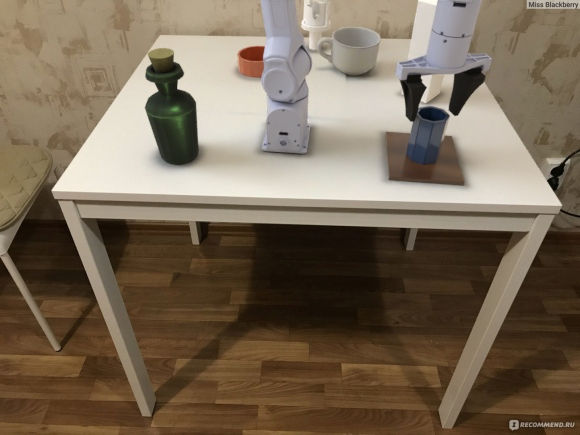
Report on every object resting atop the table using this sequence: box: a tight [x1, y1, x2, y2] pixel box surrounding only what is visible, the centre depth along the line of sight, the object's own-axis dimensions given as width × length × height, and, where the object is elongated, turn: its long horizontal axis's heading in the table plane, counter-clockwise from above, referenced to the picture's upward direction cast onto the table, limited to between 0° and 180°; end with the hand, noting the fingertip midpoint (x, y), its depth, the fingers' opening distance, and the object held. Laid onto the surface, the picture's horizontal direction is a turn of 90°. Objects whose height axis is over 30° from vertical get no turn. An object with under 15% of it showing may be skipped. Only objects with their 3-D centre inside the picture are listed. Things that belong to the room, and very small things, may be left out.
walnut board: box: [384, 131, 465, 186], centre depth 79 cm, size 14×12×1 cm
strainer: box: [300, 0, 332, 51], centre depth 109 cm, size 7×7×15 cm
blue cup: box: [406, 105, 451, 165], centre depth 76 cm, size 5×5×8 cm
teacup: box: [316, 26, 382, 76], centre depth 103 cm, size 14×11×8 cm
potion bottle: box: [144, 47, 200, 165], centre depth 74 cm, size 8×8×18 cm
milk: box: [400, 0, 445, 104], centre depth 90 cm, size 6×6×22 cm
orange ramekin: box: [236, 45, 265, 78], centre depth 104 cm, size 9×9×4 cm
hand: (431, 115), depth 74 cm, fingers open, 7 cm apart
